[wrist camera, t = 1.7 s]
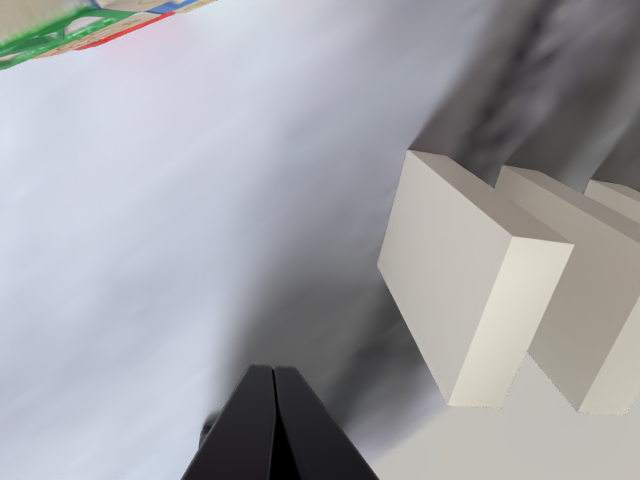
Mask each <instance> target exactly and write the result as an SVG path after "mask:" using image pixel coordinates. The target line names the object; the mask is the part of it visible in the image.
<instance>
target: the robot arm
mask: <svg viewBox="0 0 640 480" xmlns="http://www.w3.org/2000/svg"><path fill="white" fill-rule="evenodd" d="M181 480H379V478H378V477H377V476H376V474H375V473H374V472H373V470H372V469H371V468H370V466H369V465H368V463H367V462H366V461H365V459H364V458H363V457H362V455H361V454H360V453H359V451H358V450H357V449H356V447H355V446H354V445H353V443H352V442H351V441H350V439H349V438H348V437H347V435H346V434H345V433H344V431H343V430H342V429H341V427H340V426H339V425H338V423H337V422H336V421H335V419H334V418H333V417H332V415H331V414H330V413H329V411H328V410H327V409H326V407H325V406H324V405H323V403H322V402H321V401H320V399H319V398H318V397H317V395H316V394H315V393H314V391H313V390H312V389H311V387H310V386H309V385H308V383H307V382H306V381H305V379H304V378H303V377H302V375H301V374H300V373H299V371H298V370H297V369H296V368H295V367H292V366H278V365H276V366H274V367H273V368H272V367H271V366H270V365H263V364H250V365H249V366H248V367H247V368H246V370H245V372H244V373H243V375H242V377H241V379H240V380H239V382H238V384H237V385H236V387H235V389H234V390H233V392H232V394H231V395H230V397H229V399H228V401H227V402H226V404H225V406H224V407H223V409H222V411H221V412H220V414H219V416H218V417H217V419H216V421H215V423H214V424H213V426H210V427H206V428H204V429H203V430H202V431H201V434H200V441H199V450H198V451H197V453H196V455H195V456H194V458H193V460H192V461H191V463H190V465H189V466H188V468H187V470H186V472H185V473H184V475H183V477H182V478H181Z"/></svg>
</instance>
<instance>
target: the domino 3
mask: <svg viewBox="0 0 640 480" xmlns="http://www.w3.org/2000/svg"><path fill="white" fill-rule="evenodd" d="M584 195H585V196H587V197H589V198H591V199H593V200H595V201H597V202H599V203H601V204H603V205H605V206H607V207H609V208H610V209H612V210H614V211H616V212H618V213H620V214H622V215H624V216H626V217H628V218H630V219H632V220H633V221H635V222H637V223H639V224H640V192H638V191H636V190H634V189H631V188H629V187H627V186H624V185H621V184H615V183H609V182H603V181H597V180H591V179H590V180H589V182H588V185H587V187H586V189H585V192H584Z"/></svg>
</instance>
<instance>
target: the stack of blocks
mask: <svg viewBox="0 0 640 480" xmlns="http://www.w3.org/2000/svg"><path fill="white" fill-rule="evenodd" d="M214 1H217V0H0V70H3V69H7V68H10V67H12V66H14V65H17V64H19V63H22V62H24V61H26V60H29V59H36V58H42V57H49V56H53V55H58V54H62V53H66V52H68V51H71V50H82V49H86V48H90V47H96V46H98V45H101V44H103V43H106V42H108V41H110V40H113V39H115V38H117V37H120V36H122V35H124V34H127V33H129V32H132V31H134V30H137V29H139V28H142V27H144V26H146V25H149V24H151V23H154V22H156V21H159V20H161V19H163V18H165V17H168V16H171V15H174V14H175V13H187V12H189V11H192V10H194V9H197V8H199V7H202V6H204V5H207V4H209V3H212V2H214Z"/></svg>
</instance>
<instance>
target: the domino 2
mask: <svg viewBox="0 0 640 480" xmlns="http://www.w3.org/2000/svg"><path fill="white" fill-rule="evenodd" d="M494 189H495V190H497V191H498V192H500V193H501V194H503V195H504V196H505V197H507V198H508V199H510V200H511V201H513V202H514V203H516V204H517V205H518V206H520V207H521V208H523V209H524V210H526V211H527V212H529V213H530V214H531V215H533V216H534V217H536V218H537V219H539V220H540V221H542V222H543V223H544V224H546V225H547V226H549V227H550V228H552V229H553V230H555V231H556V232H558V233H559V234H560V235H562V236H563V237H565V238H566V239H568V240H569V241H571V242H572V243H573V244H575V245H574V248H573V250H572V252H571V254H570V256H569V259H568V261H567V263H566V265H565V268H564V270H563V272H562V274H561V277H560V279H559V281H558V283H557V285H556V288H555V290H554V292H553V294H552V297H551V299H550V301H549V303H548V305H547V308H546V310H545V312H544V314H543V317H542V319H541V321H540V323H539V326H538V328H537V330H536V332H535V334H534V337H533V339H532V341H531V343H530V346H529V348H528V350H527V352H528V353H529V355H530V356H531V357H532V358H533V360H534V361H535V362H536V363H537V364H538V366H539V367H540V368H541V369H542V370H543V372H544V373H545V374H546V375H547V376H548V378H549V379H550V380H551V381H552V383H553V384H554V385H555V386H556V387H557V389H558V390H559V391H560V392H561V393H562V395H563V396H564V397H565V398H566V399H567V401H568V402H569V403H570V404H571V406H572V407H573V408H574V409H575V410H576V411H577V412H578V413H596V414H614V415H626V413H627V411H628V410H629V408H630V406H631V404H632V403H633V401H634V400H635V398H636V396H637V395H638V393H639V391H640V224H639V223H637V222H635V221H633V220H632V219H630V218H628V217H626V216H624V215H622V214H620V213H618V212H616V211H614V210H612V209H610V208H609V207H607V206H605V205H603V204H601V203H599V202H597V201H595V200H593V199H591V198H589V197H587V196H585V195H584V194H582V193H580V192H578V191H576V190H574V189H572V188H570V187H568V186H566V185H564V184H562V183H561V182H559V181H557V180H555V179H553V178H551V177H549V176H547V175H545V174H543V173H541V172H539V171H536V170H530V169H524V168H518V167H512V166H506V165H502V168H501V170H500V173H499V176H498V179H497V182H496V185H495V187H494Z"/></svg>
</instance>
